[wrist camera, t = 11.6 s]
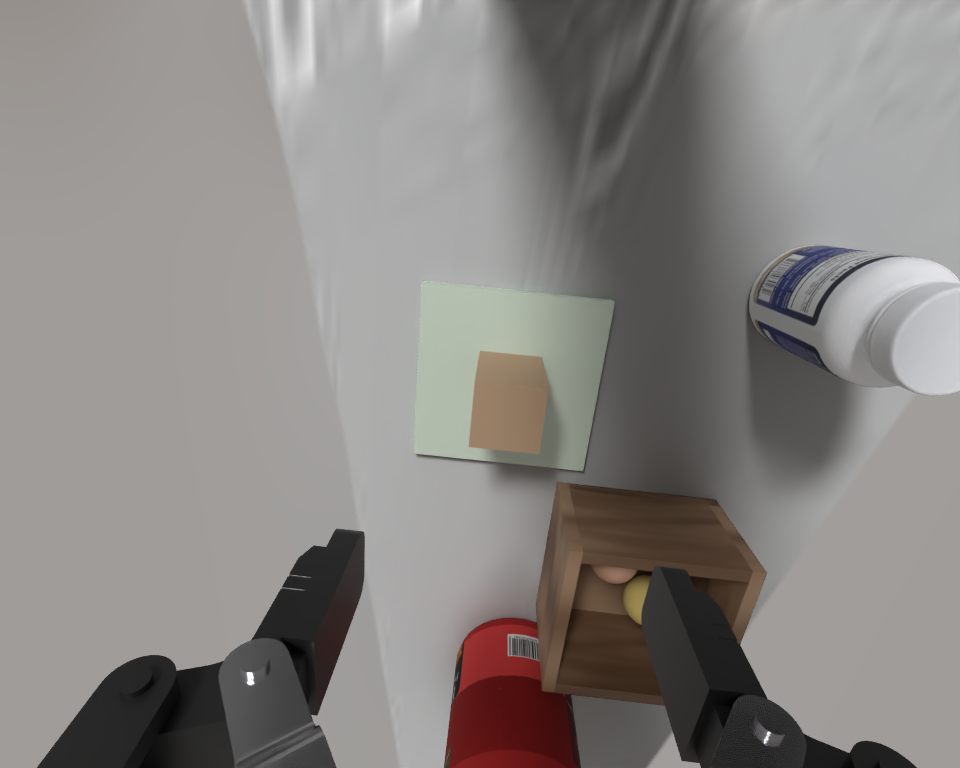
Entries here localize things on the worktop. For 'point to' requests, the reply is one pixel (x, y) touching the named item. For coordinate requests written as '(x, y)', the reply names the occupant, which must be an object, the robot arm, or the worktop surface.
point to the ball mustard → (635, 596)
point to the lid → (508, 374)
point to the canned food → (507, 704)
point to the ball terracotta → (613, 573)
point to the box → (599, 605)
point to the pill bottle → (864, 316)
